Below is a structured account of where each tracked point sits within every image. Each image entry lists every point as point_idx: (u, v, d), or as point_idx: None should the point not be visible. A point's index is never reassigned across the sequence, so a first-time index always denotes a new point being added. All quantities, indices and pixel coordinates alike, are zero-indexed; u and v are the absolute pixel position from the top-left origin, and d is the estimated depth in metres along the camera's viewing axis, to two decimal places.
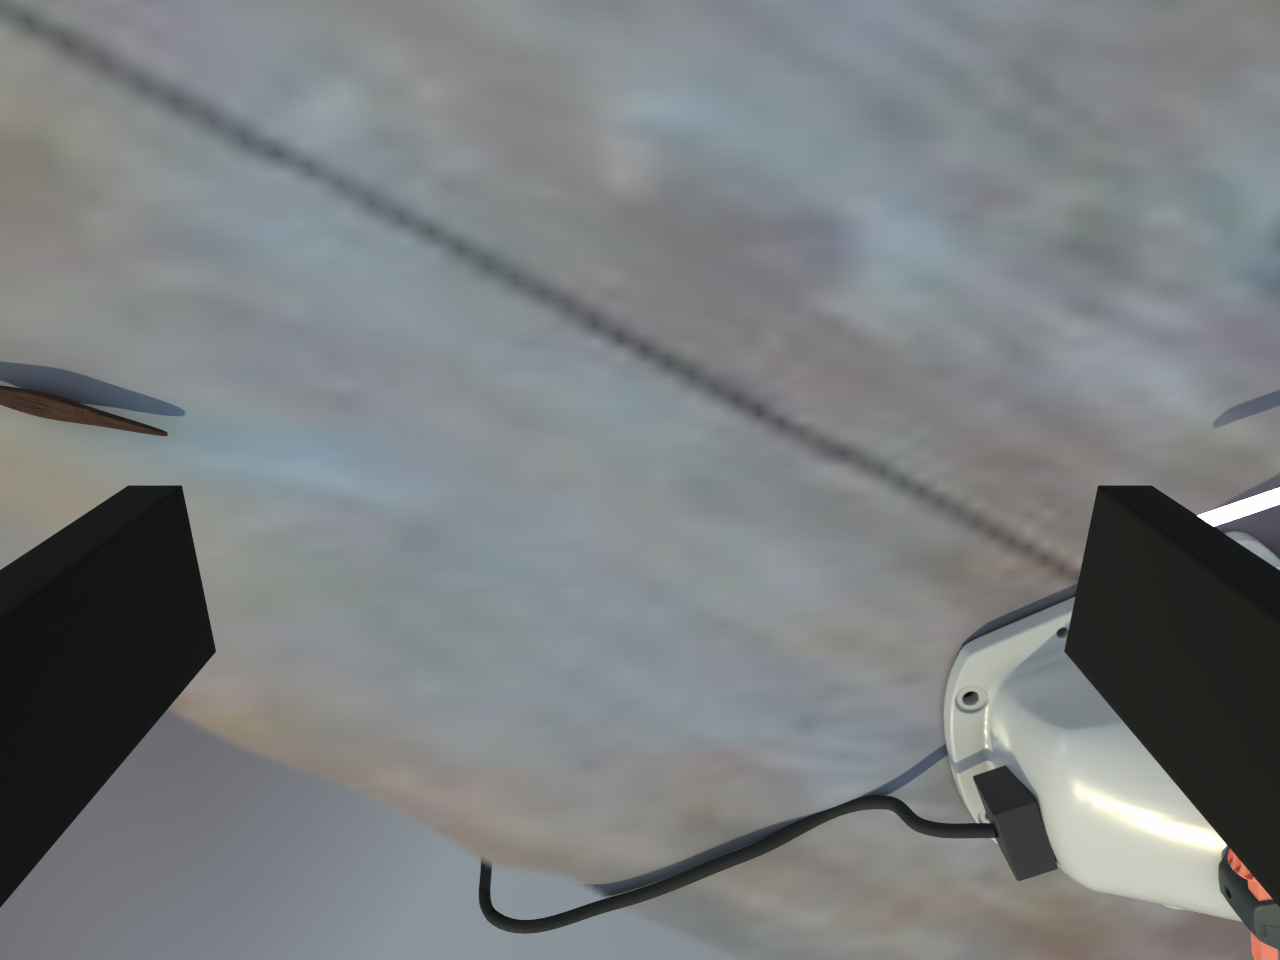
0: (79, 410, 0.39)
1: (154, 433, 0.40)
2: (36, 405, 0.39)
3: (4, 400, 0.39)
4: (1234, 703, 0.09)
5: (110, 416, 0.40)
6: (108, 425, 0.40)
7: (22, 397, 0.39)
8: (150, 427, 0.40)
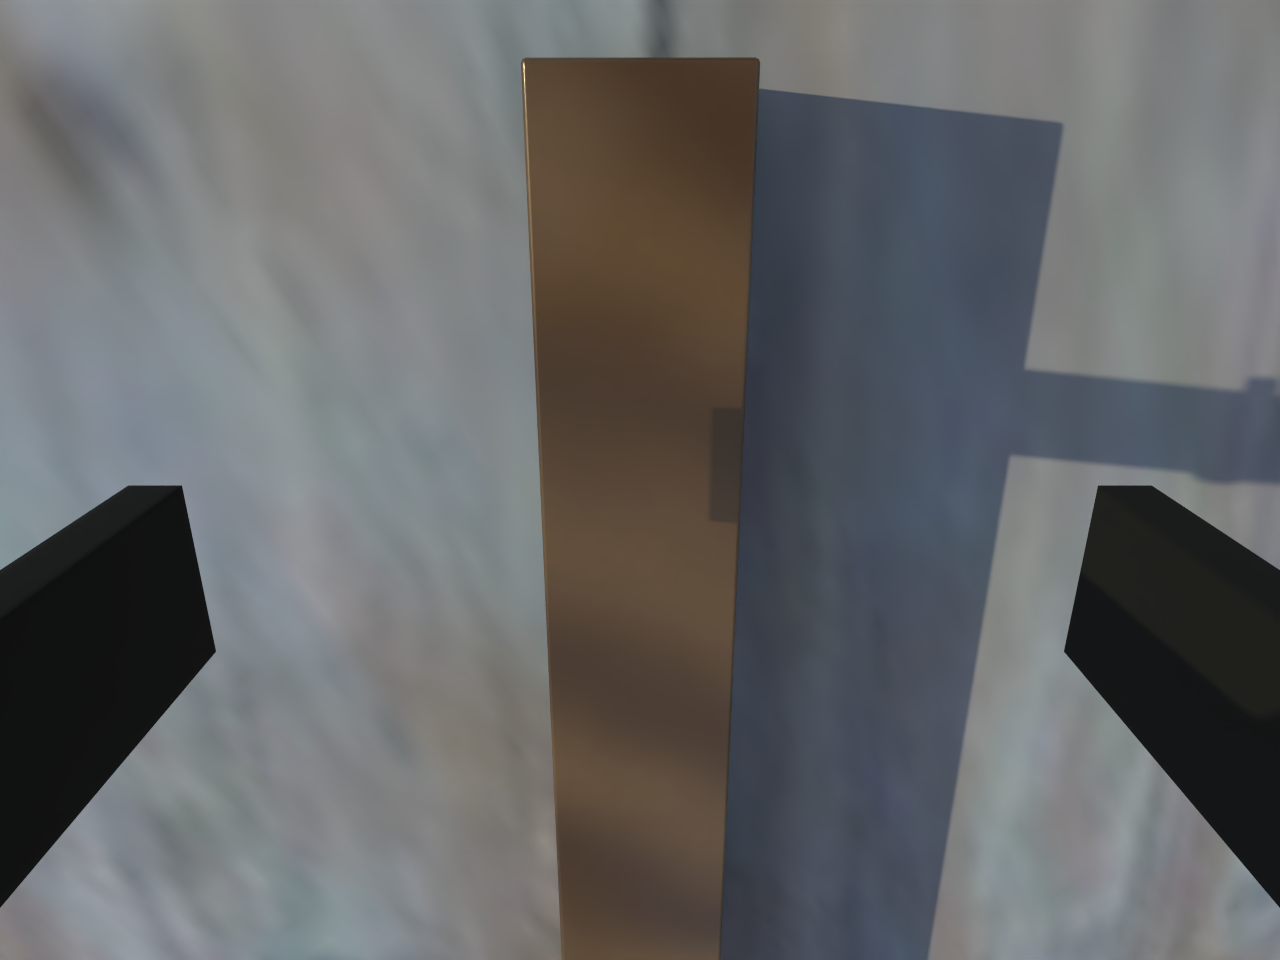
0: None
1: None
2: None
3: None
4: (1234, 703, 0.09)
5: None
6: None
7: None
8: None
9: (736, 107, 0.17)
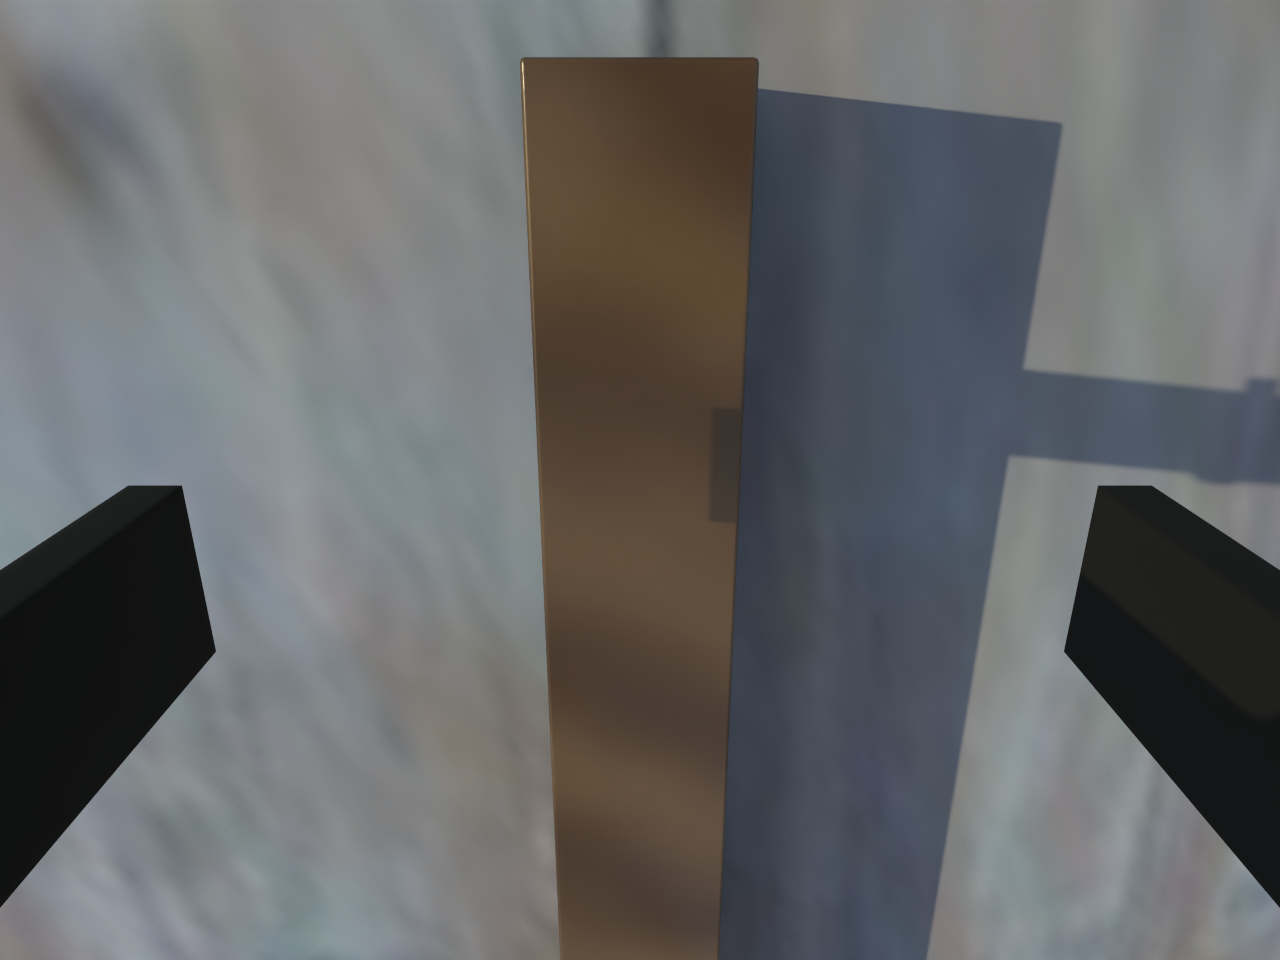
0: None
1: None
2: None
3: None
4: (1234, 703, 0.09)
5: None
6: None
7: None
8: None
9: (735, 107, 0.17)
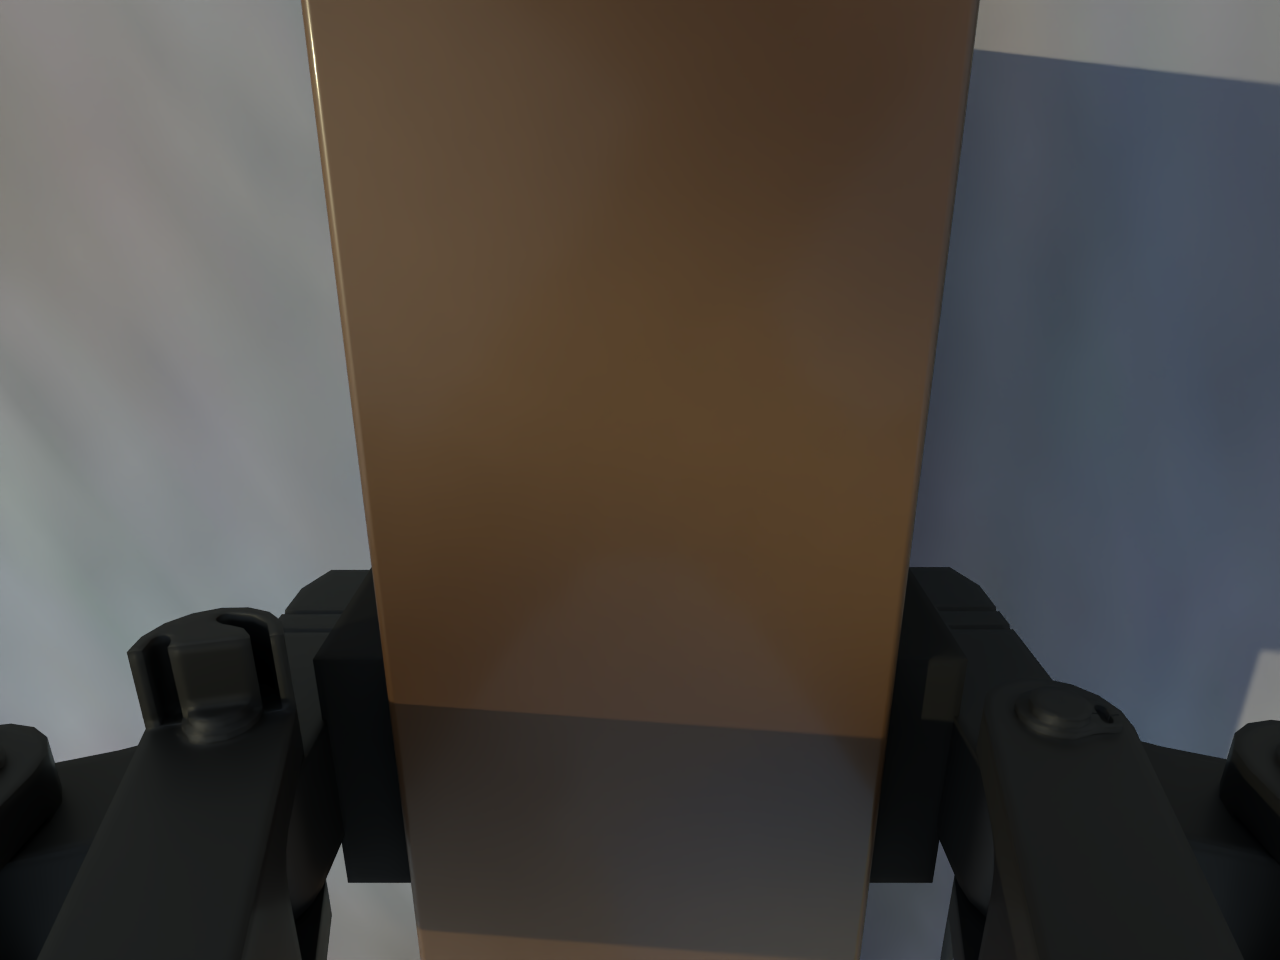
0: None
1: None
2: None
3: None
4: None
5: None
6: None
7: None
8: None
9: (918, 30, 0.06)
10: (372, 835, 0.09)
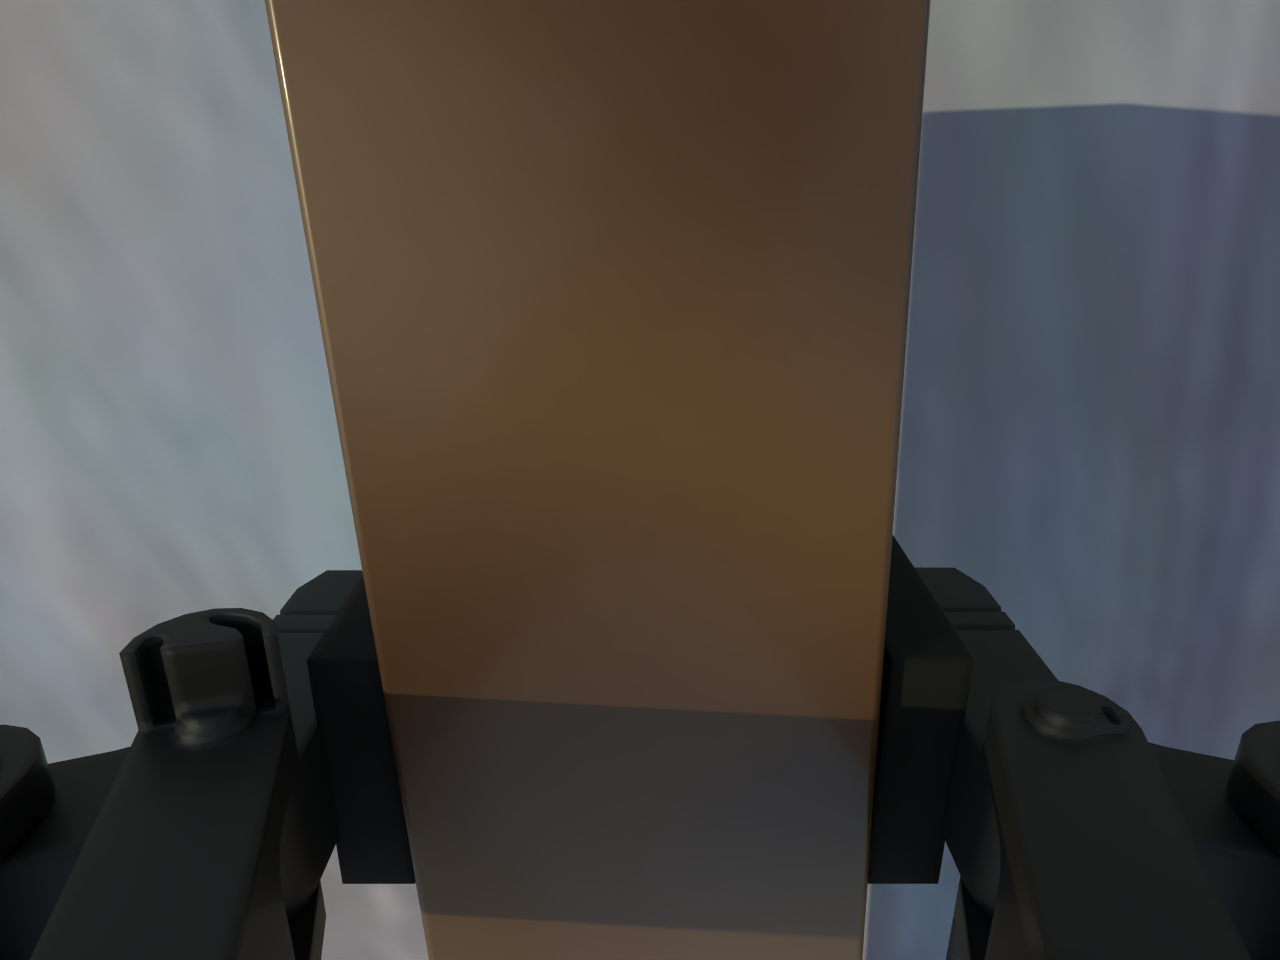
0: None
1: None
2: None
3: None
4: None
5: None
6: None
7: None
8: None
9: (871, 32, 0.06)
10: (367, 836, 0.09)
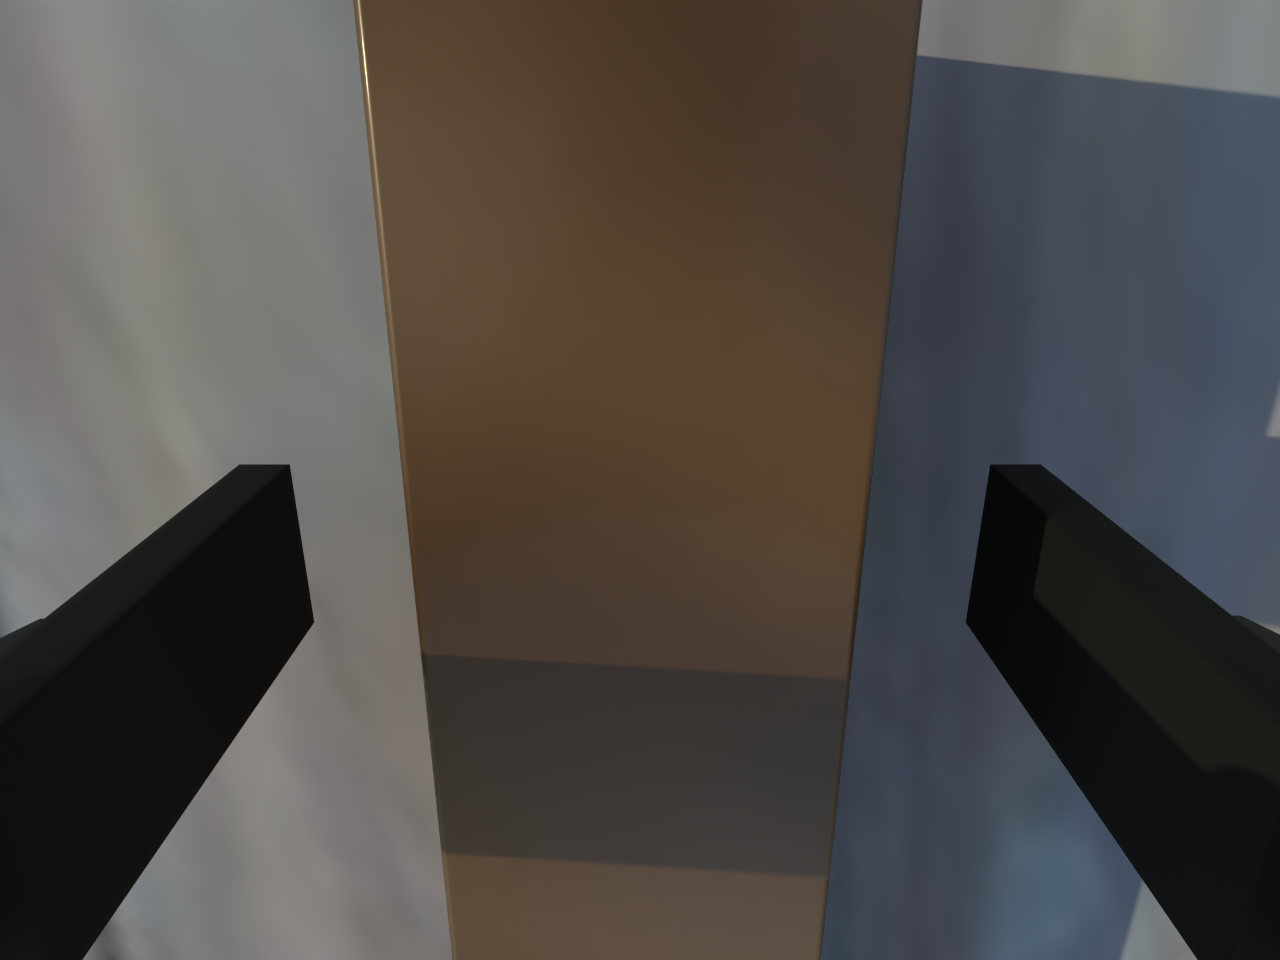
0: None
1: None
2: None
3: None
4: (1086, 659, 0.10)
5: None
6: None
7: None
8: None
9: (868, 50, 0.07)
10: None
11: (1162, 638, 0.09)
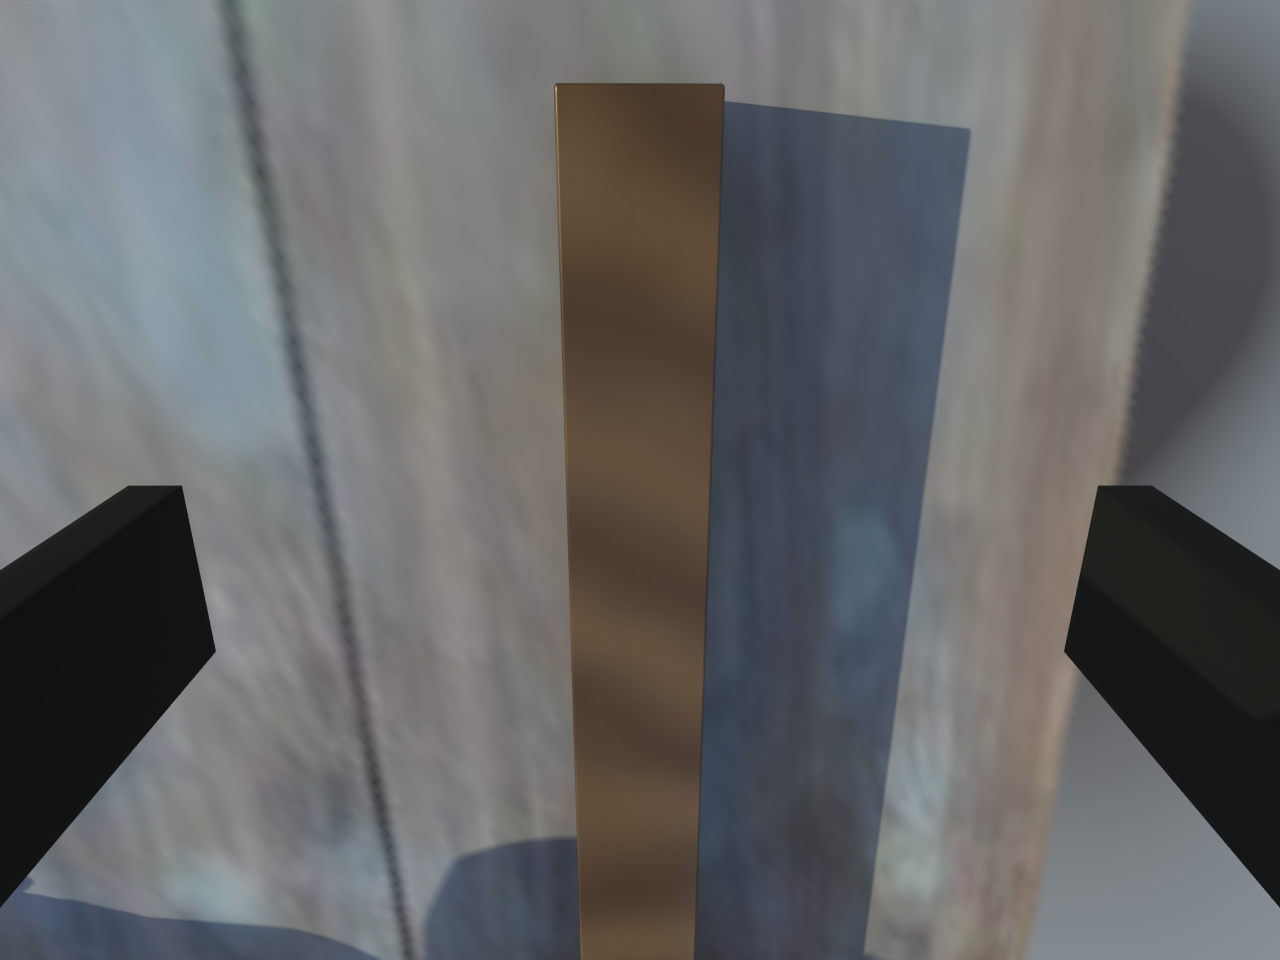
0: None
1: None
2: None
3: None
4: (1234, 703, 0.09)
5: None
6: None
7: None
8: None
9: (708, 119, 0.23)
10: None
11: None
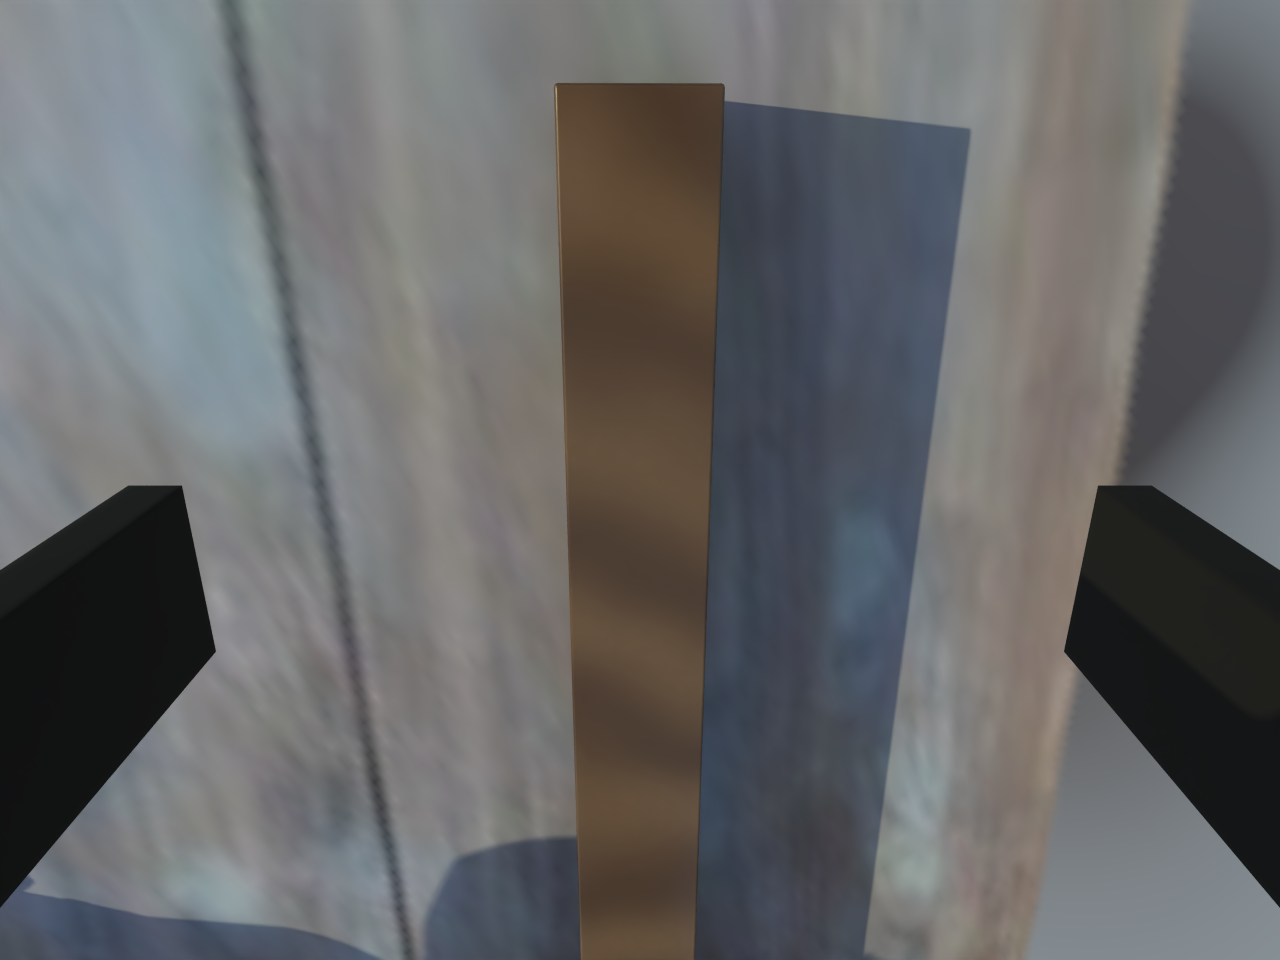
0: None
1: None
2: None
3: None
4: (1234, 703, 0.09)
5: None
6: None
7: None
8: None
9: (708, 118, 0.23)
10: None
11: None
